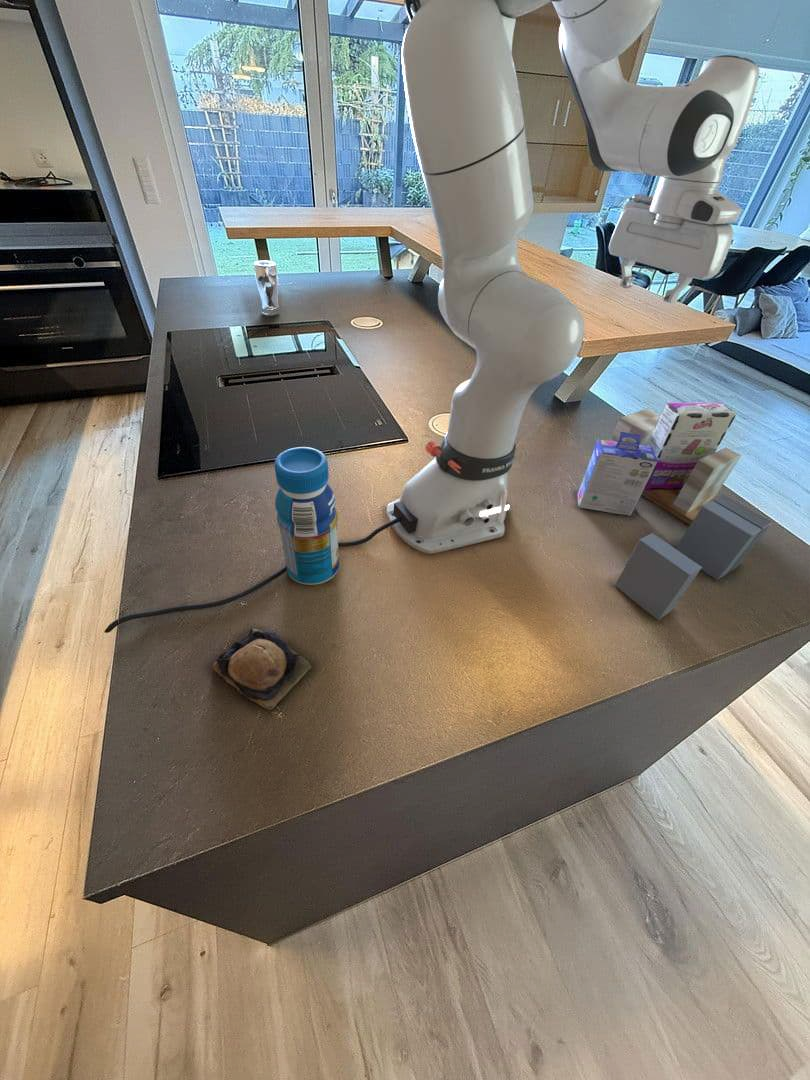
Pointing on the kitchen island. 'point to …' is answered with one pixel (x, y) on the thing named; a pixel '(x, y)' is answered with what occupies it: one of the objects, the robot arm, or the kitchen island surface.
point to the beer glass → (267, 284)
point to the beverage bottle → (307, 515)
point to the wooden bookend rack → (701, 479)
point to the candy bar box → (685, 440)
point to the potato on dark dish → (261, 667)
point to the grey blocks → (690, 555)
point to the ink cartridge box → (616, 475)
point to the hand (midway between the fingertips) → (646, 294)
